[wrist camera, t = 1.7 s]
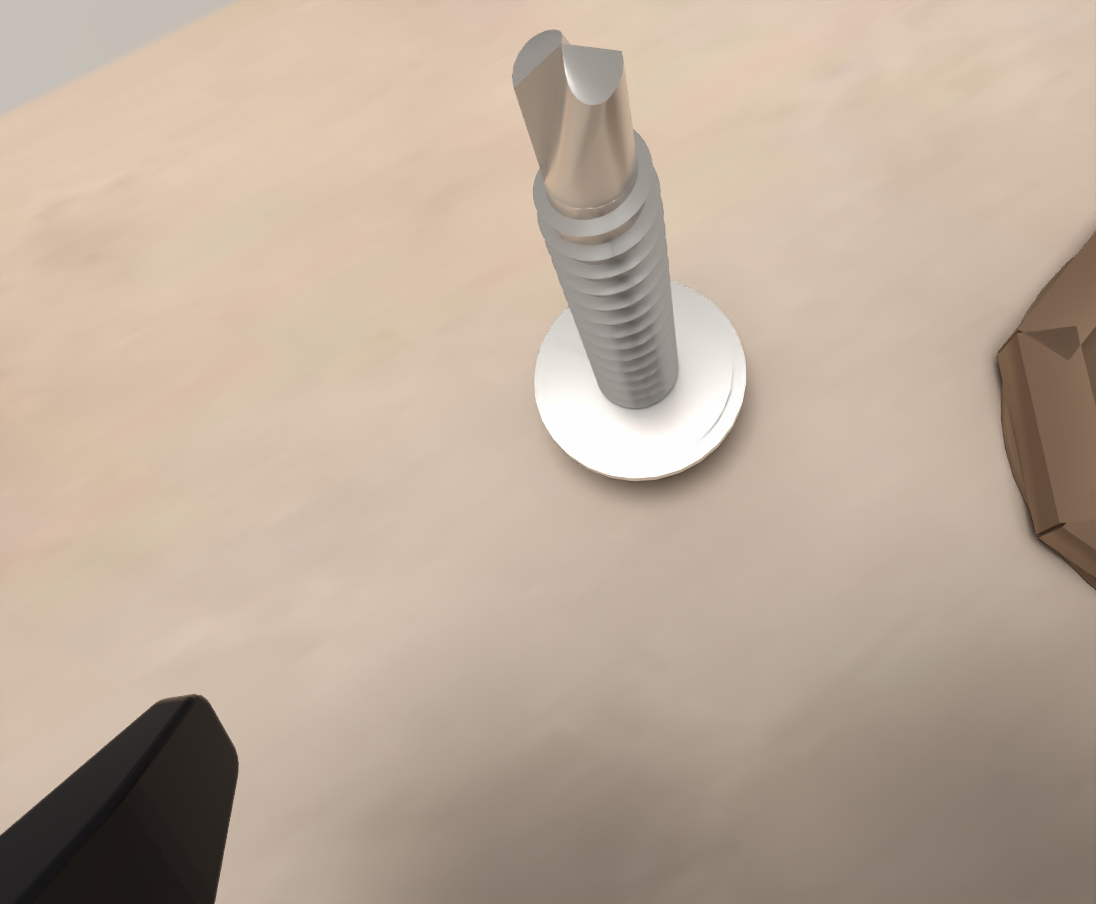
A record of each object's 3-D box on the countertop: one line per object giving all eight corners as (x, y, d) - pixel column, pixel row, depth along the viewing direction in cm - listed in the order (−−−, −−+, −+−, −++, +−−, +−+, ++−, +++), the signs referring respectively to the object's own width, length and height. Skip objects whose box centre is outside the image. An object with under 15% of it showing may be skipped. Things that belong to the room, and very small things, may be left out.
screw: (769, 464, 21) (576, 520, 22) (709, 289, 23) (530, 345, 23) (851, 153, 9) (399, 299, 9) (708, -191, 10) (320, -49, 11)
